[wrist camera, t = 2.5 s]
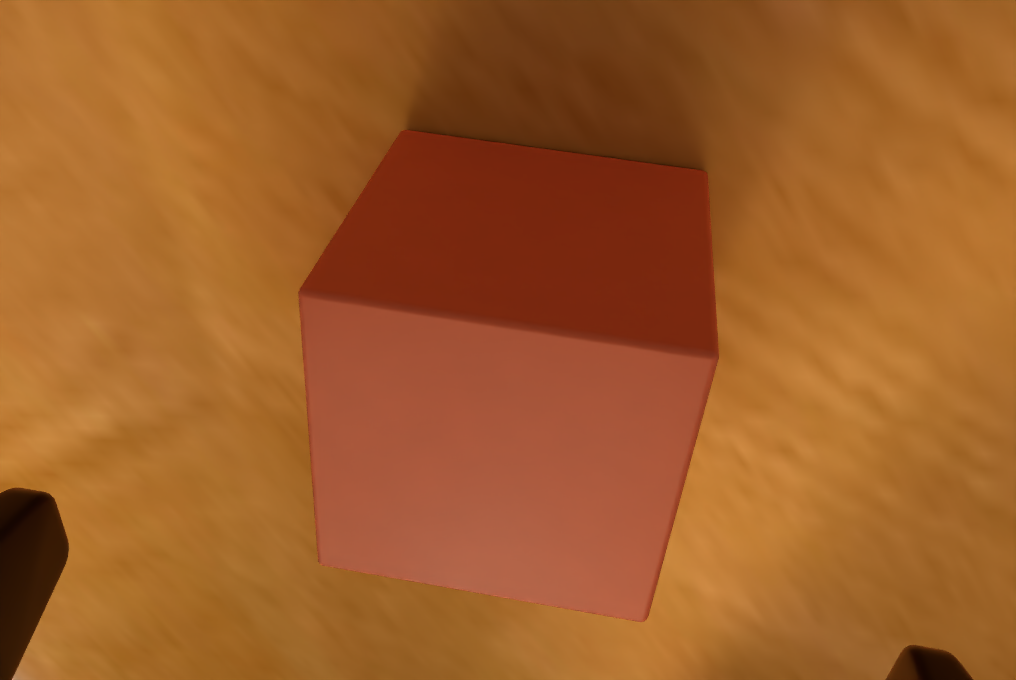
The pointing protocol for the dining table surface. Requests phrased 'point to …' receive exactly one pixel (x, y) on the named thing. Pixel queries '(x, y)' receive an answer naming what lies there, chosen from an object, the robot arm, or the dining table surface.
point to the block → (510, 371)
